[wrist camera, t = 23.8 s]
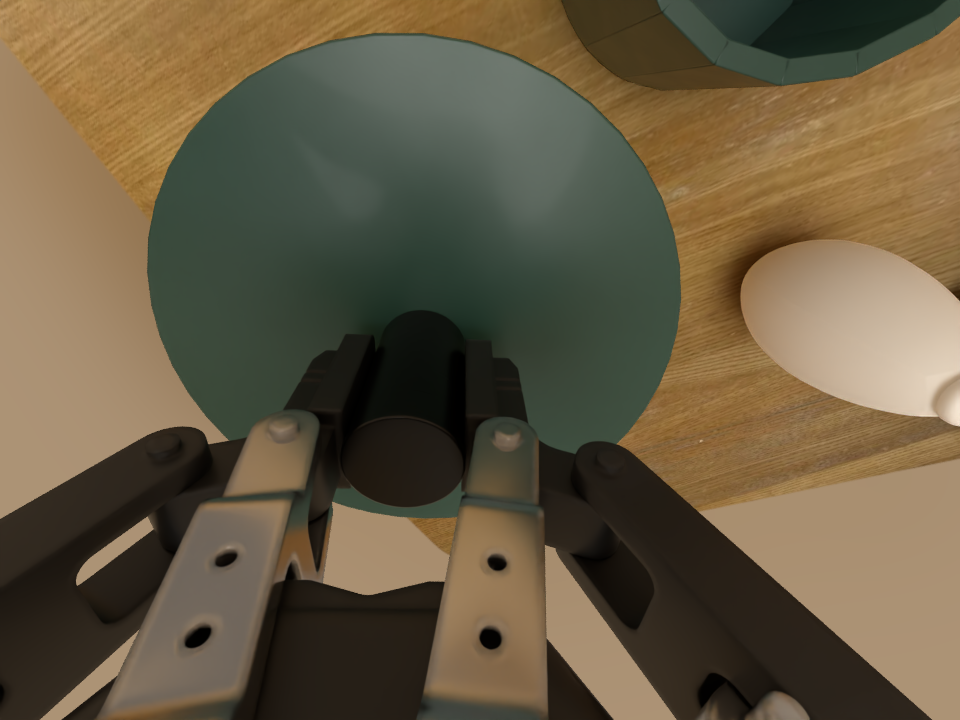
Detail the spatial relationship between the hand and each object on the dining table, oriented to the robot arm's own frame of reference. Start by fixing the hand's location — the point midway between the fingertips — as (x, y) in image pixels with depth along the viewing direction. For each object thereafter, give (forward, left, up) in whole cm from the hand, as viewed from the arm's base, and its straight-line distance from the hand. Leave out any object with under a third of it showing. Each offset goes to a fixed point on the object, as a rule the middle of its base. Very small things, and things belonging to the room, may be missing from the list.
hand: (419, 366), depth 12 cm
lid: (0, 0, -1) cm, 1 cm away
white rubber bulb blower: (+23, -3, -19) cm, 30 cm away
